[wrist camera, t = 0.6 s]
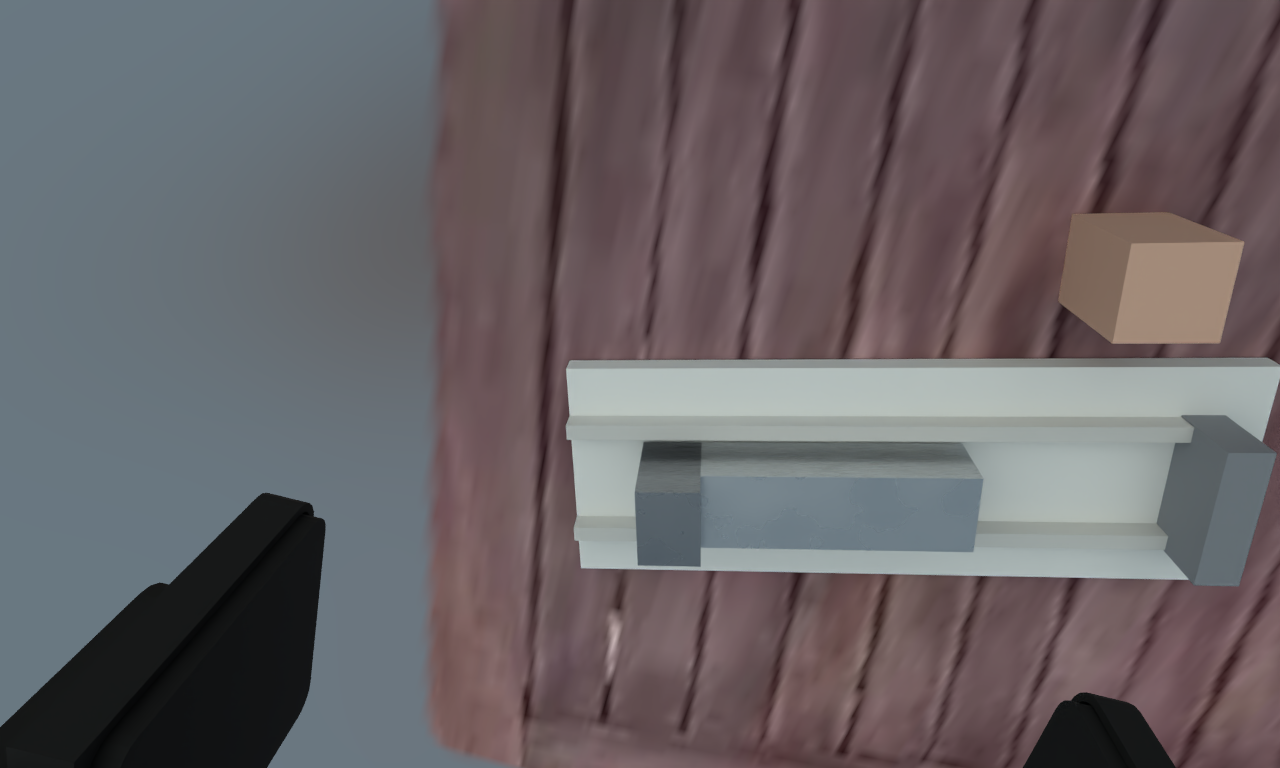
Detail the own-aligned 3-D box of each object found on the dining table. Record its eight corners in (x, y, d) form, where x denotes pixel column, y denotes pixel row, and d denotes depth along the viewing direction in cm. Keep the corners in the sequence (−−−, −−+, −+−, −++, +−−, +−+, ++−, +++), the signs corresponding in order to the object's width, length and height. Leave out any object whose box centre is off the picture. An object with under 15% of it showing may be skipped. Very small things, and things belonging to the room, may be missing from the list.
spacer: (1072, 213, 38) (1131, 243, 33) (1167, 212, 38) (1244, 241, 33) (1058, 301, 40) (1112, 343, 35) (1149, 300, 40) (1220, 343, 34)
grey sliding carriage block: (643, 441, 43) (634, 492, 38) (962, 443, 42) (994, 496, 37) (645, 508, 45) (637, 565, 40) (953, 512, 43) (983, 572, 38)
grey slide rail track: (570, 360, 43) (552, 400, 38) (1267, 357, 40) (1342, 400, 35) (584, 555, 48) (569, 613, 43) (1211, 566, 45) (1270, 630, 40)
